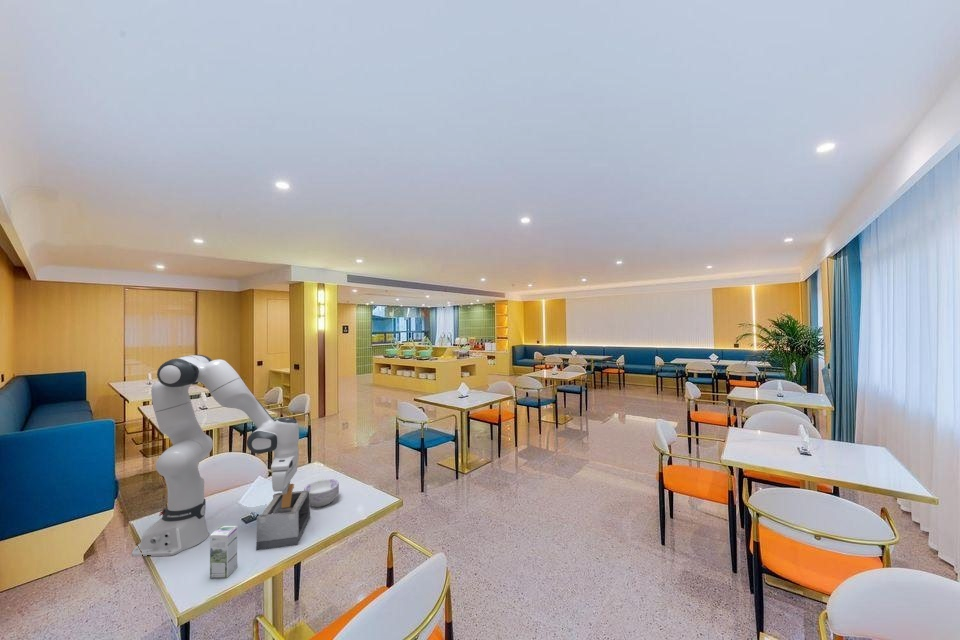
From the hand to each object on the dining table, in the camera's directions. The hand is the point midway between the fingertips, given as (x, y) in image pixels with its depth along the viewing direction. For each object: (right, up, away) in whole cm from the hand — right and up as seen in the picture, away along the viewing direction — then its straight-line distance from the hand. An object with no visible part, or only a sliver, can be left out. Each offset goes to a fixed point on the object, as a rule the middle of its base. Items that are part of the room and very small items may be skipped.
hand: (285, 492), depth 146 cm
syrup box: (-7, -15, -25) cm, 30 cm away
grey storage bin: (+1, -16, -1) cm, 16 cm away
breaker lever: (+1, -7, -1) cm, 7 cm away
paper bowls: (+4, -16, +24) cm, 29 cm away
